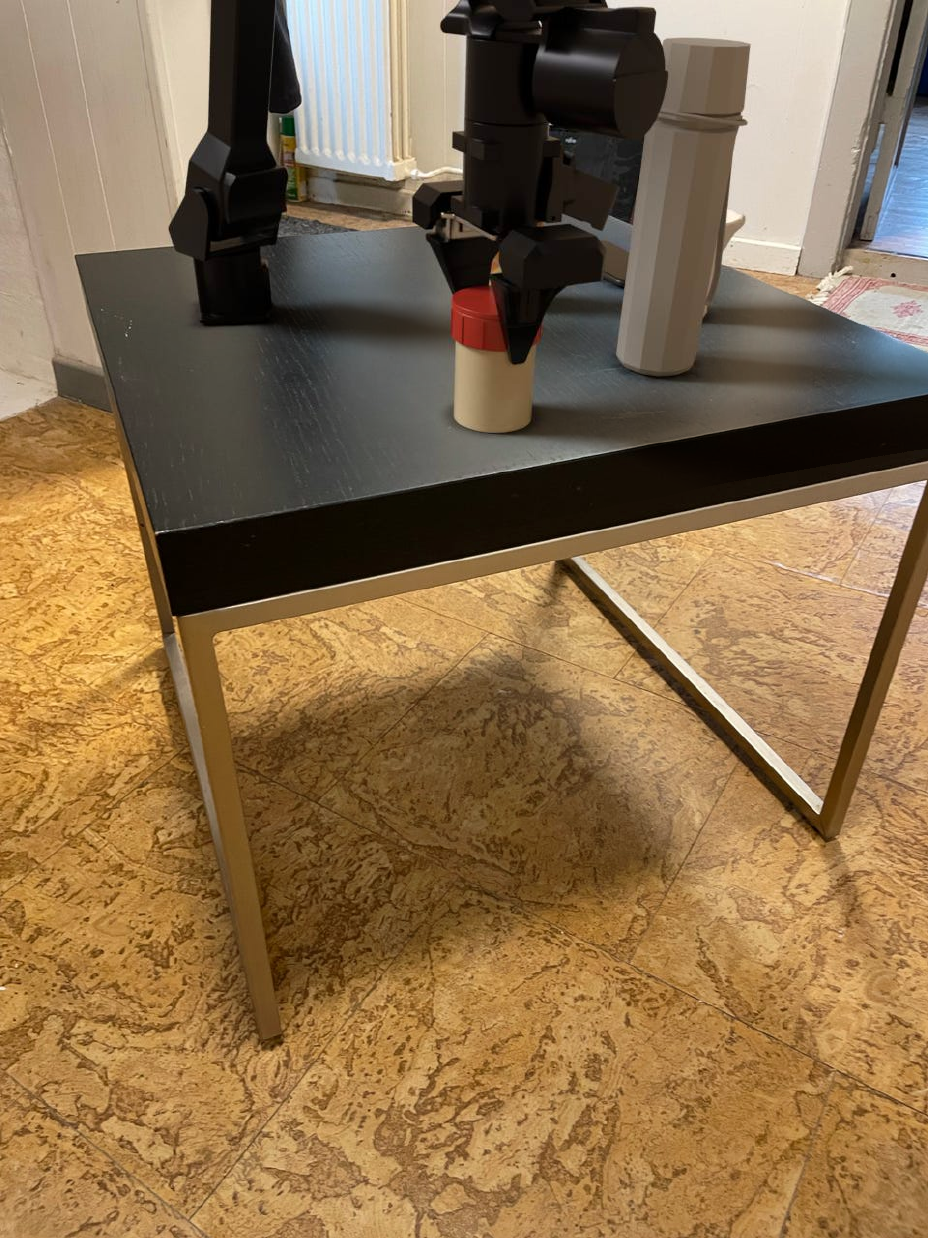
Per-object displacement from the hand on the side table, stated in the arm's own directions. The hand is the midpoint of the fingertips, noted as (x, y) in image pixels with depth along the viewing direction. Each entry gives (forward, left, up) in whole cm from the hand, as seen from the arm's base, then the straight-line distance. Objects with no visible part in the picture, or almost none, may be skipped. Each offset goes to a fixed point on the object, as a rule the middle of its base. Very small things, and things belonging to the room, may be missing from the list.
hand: (495, 347), depth 72 cm
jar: (0, 0, -6) cm, 6 cm away
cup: (+25, +22, -6) cm, 34 cm away
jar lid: (0, 0, +3) cm, 3 cm away
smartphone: (+23, +38, -6) cm, 45 cm away
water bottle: (+18, +9, -6) cm, 21 cm away
